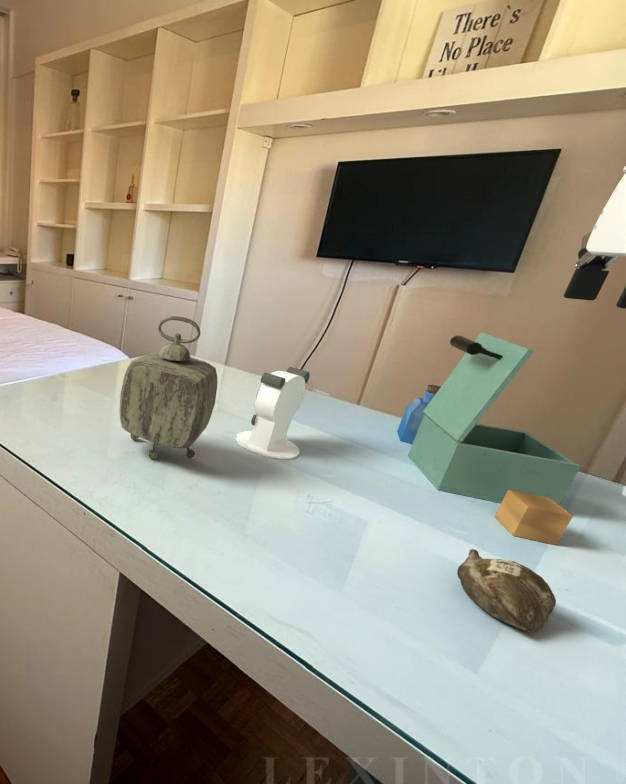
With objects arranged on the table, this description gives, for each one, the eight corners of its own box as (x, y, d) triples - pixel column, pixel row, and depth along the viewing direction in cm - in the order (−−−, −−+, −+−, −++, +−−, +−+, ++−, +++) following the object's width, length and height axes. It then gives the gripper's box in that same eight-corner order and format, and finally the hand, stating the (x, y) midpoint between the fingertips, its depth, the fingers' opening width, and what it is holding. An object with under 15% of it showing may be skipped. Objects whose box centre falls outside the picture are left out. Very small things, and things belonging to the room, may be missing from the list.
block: (534, 525, 69) (549, 497, 67) (556, 545, 65) (573, 516, 63) (494, 516, 70) (508, 489, 69) (512, 535, 66) (528, 506, 64)
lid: (486, 333, 79) (450, 321, 80) (534, 351, 67) (491, 337, 68) (427, 413, 86) (394, 401, 87) (461, 442, 74) (423, 427, 75)
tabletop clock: (202, 457, 82) (233, 321, 73) (188, 478, 75) (220, 329, 66) (128, 434, 89) (148, 307, 80) (108, 450, 82) (127, 313, 73)
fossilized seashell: (453, 546, 58) (437, 593, 53) (508, 526, 54) (497, 576, 48) (508, 597, 56) (498, 652, 50) (571, 581, 51) (568, 641, 45)
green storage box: (506, 474, 84) (527, 432, 81) (554, 514, 72) (581, 466, 69) (407, 455, 89) (424, 414, 86) (437, 490, 77) (457, 443, 74)
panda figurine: (256, 427, 97) (274, 360, 92) (311, 449, 88) (334, 377, 83) (224, 439, 90) (241, 367, 85) (280, 464, 82) (303, 386, 76)
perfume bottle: (432, 439, 98) (453, 387, 94) (437, 449, 93) (460, 395, 89) (397, 431, 101) (416, 380, 97) (400, 440, 96) (421, 387, 92)
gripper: (809, 144, 44) (706, 318, 50) (659, 167, 59) (594, 299, 65) (702, 143, 46) (616, 309, 52) (584, 166, 62) (528, 293, 68)
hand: (604, 303), depth 59 cm, fingers open, 9 cm apart
